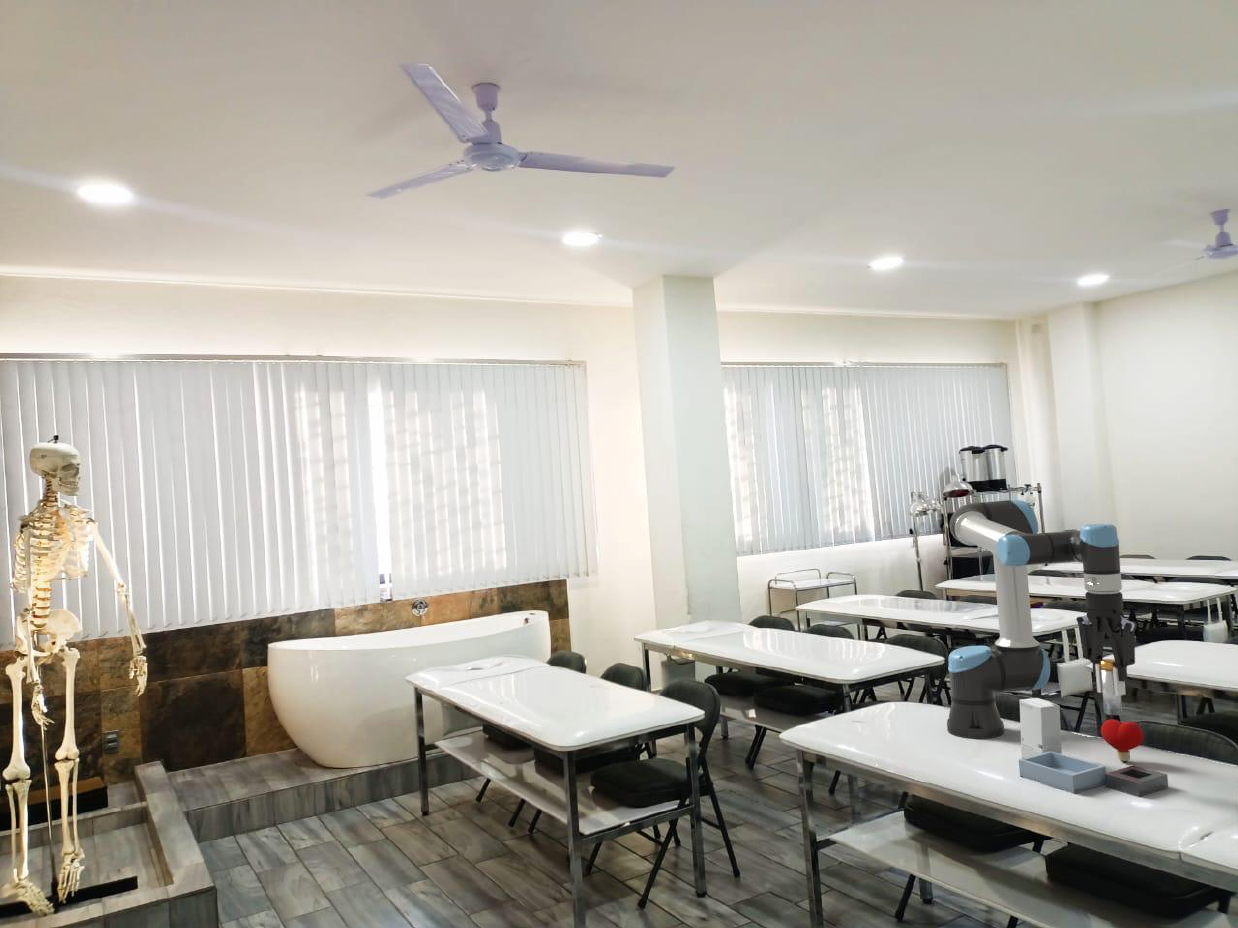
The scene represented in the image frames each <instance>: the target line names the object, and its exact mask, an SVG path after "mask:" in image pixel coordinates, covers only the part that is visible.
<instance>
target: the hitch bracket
mask: <svg viewBox="0 0 1238 928" xmlns="http://www.w3.org/2000/svg"><path fill="white" fill-rule="evenodd" d="M1105 783H1106V784H1105V787H1106V788H1108V789H1111V790H1115V791H1119V792H1122V793H1126V794H1128V795H1131V796H1134V797H1138V798H1141V797H1143V796H1147V795H1150V794H1153V793H1156V792H1159V791H1162V790H1166V789H1168V788H1169V779H1168V774H1167V773H1164V772H1161V771H1156V770H1153V769H1150V768H1145V767H1141V766H1139V765H1138V766H1137V765H1135V764H1132V765H1130V766H1127V767H1123V768H1120V769H1117V770H1116V769H1115V770H1113V771H1109V772H1106V773H1105Z"/></svg>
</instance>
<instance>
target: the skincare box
mask: <svg viewBox="0 0 1238 928" xmlns="http://www.w3.org/2000/svg"><path fill="white" fill-rule="evenodd" d="M1060 707H1061V706H1060V705H1058V704H1056V703H1053V702H1051V701H1049V700H1046V699H1042V698H1039V697H1031V698H1024V699H1023V698H1022V699H1019V717H1020V718H1019V719H1020V720H1019V722H1020V724H1019V725H1020V752H1021V754H1020V755H1021V758H1022V759H1023V758H1026V757H1030V756H1034V755H1038V754H1041V753H1045V752H1049V751H1053V752H1056V753H1060V754H1062V753H1063V751H1062V733H1061V731H1062V729H1061V728H1062V727H1061V710H1060V709H1061V708H1060Z"/></svg>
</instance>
